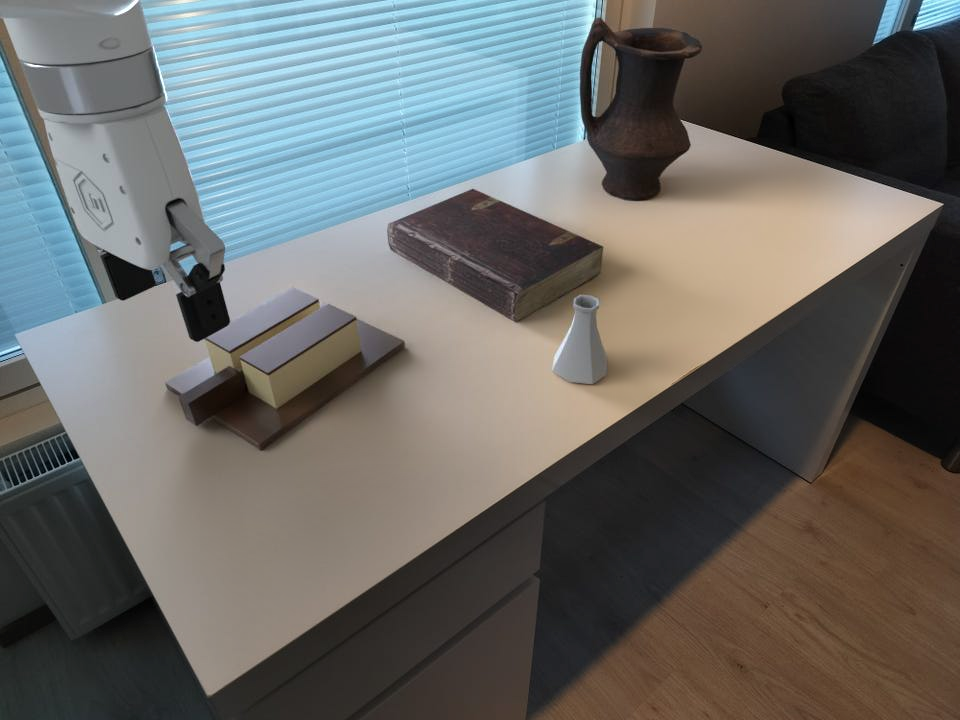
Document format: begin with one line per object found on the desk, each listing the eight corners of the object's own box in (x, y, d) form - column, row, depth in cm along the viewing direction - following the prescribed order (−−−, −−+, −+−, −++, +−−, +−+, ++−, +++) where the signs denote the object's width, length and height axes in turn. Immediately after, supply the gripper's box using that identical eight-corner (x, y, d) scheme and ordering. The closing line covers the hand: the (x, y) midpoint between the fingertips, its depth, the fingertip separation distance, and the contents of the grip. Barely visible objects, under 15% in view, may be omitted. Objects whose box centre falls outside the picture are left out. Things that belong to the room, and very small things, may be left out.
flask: (542, 375, 86) (546, 309, 80) (564, 344, 91) (569, 280, 85) (596, 392, 84) (605, 325, 77) (616, 360, 89) (625, 294, 82)
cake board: (260, 450, 76) (258, 444, 75) (166, 388, 85) (164, 382, 84) (405, 346, 91) (404, 340, 90) (312, 303, 100) (311, 297, 99)
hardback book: (389, 250, 112) (386, 222, 109) (473, 214, 122) (472, 188, 119) (514, 323, 95) (515, 292, 92) (600, 275, 105) (603, 246, 102)
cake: (276, 409, 80) (267, 373, 77) (213, 371, 86) (202, 336, 82) (361, 351, 89) (356, 316, 85) (299, 320, 94) (292, 286, 91)
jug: (665, 167, 139) (692, 3, 120) (694, 207, 124) (730, 27, 106) (562, 171, 137) (573, 6, 119) (579, 211, 123) (595, 31, 104)
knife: (196, 426, 78) (188, 403, 76) (186, 419, 79) (177, 396, 77) (297, 361, 87) (292, 339, 85) (287, 355, 88) (282, 333, 86)
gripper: (-28, 74, 45) (68, 298, 55) (118, 123, 36) (198, 375, 47) (83, 52, 50) (152, 261, 60) (233, 90, 41) (284, 326, 52)
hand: (172, 311), depth 53 cm, fingers open, 9 cm apart
